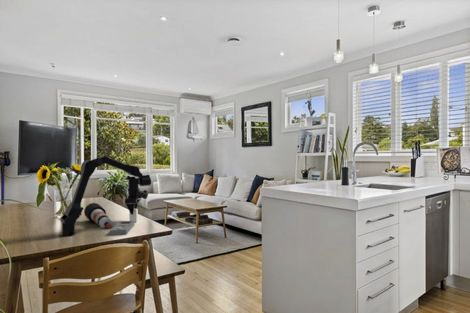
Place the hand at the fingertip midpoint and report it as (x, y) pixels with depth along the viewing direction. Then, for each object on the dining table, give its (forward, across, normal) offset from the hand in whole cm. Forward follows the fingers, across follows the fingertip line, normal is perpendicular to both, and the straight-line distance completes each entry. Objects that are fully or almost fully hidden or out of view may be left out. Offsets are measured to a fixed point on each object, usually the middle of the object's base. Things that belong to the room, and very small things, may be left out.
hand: (133, 212), depth 181 cm
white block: (+6, 0, 0) cm, 6 cm away
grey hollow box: (+6, -18, +2) cm, 19 cm away
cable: (+7, 0, +19) cm, 20 cm away
